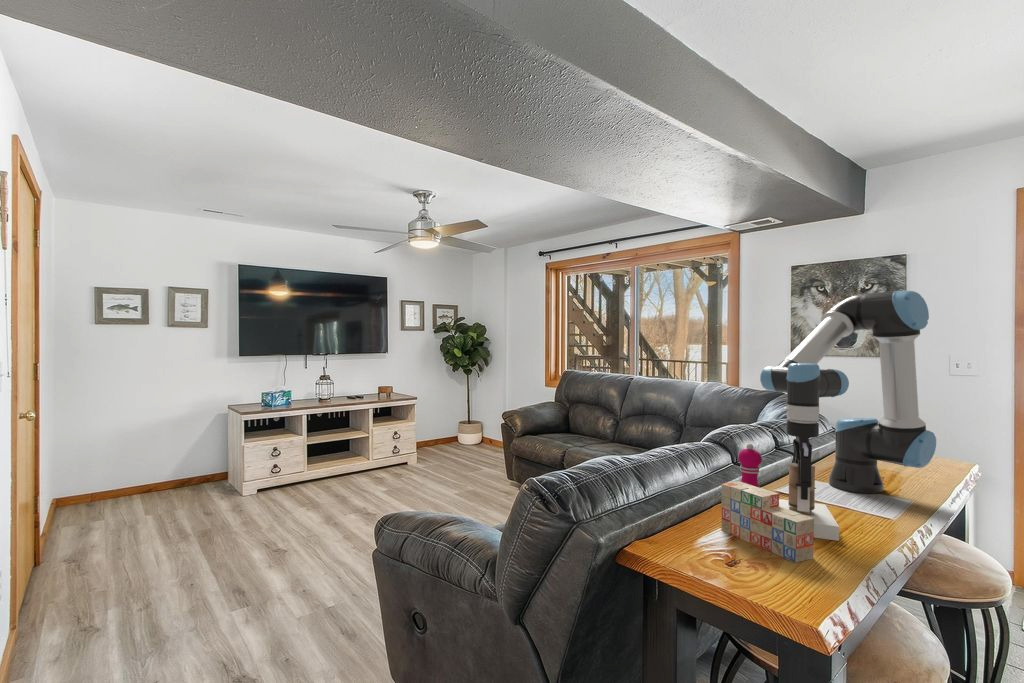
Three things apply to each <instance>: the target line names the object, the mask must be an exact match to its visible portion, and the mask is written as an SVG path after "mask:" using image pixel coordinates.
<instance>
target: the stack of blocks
mask: <svg viewBox="0 0 1024 683" xmlns="http://www.w3.org/2000/svg"><path fill="white" fill-rule="evenodd" d="M720 498H721V502H720V503H721V531H724V532H726V533H728V534H730V535H733V536H735V537H736V538H738V539H741V540H743V541H746V542H748V543H751V544H752V545H755V546H757V547H759V548H762V549H764V550H767V551H769V552H771V553H773V554H775V555H778V556H779V557H782V558H783V559H786V560H788V559H789V560H788V561H790V560H791V562H793V563H800V562H804V561H807V560H812V559H814V544H815V540H814V518H812V517H809V516H806V515H803V514H801V513H798V512H795V511H792V510H789V509H786V508H783V507H779V499H780V494H779V493H777V492H774V491H771V490H768V489H765V488H763V487H760V486H759V487H755V486H752V485H749V484H746V483H743V482H741V481H739V480H738V481H731V482H724V483H722V484H721V497H720Z"/></svg>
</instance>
